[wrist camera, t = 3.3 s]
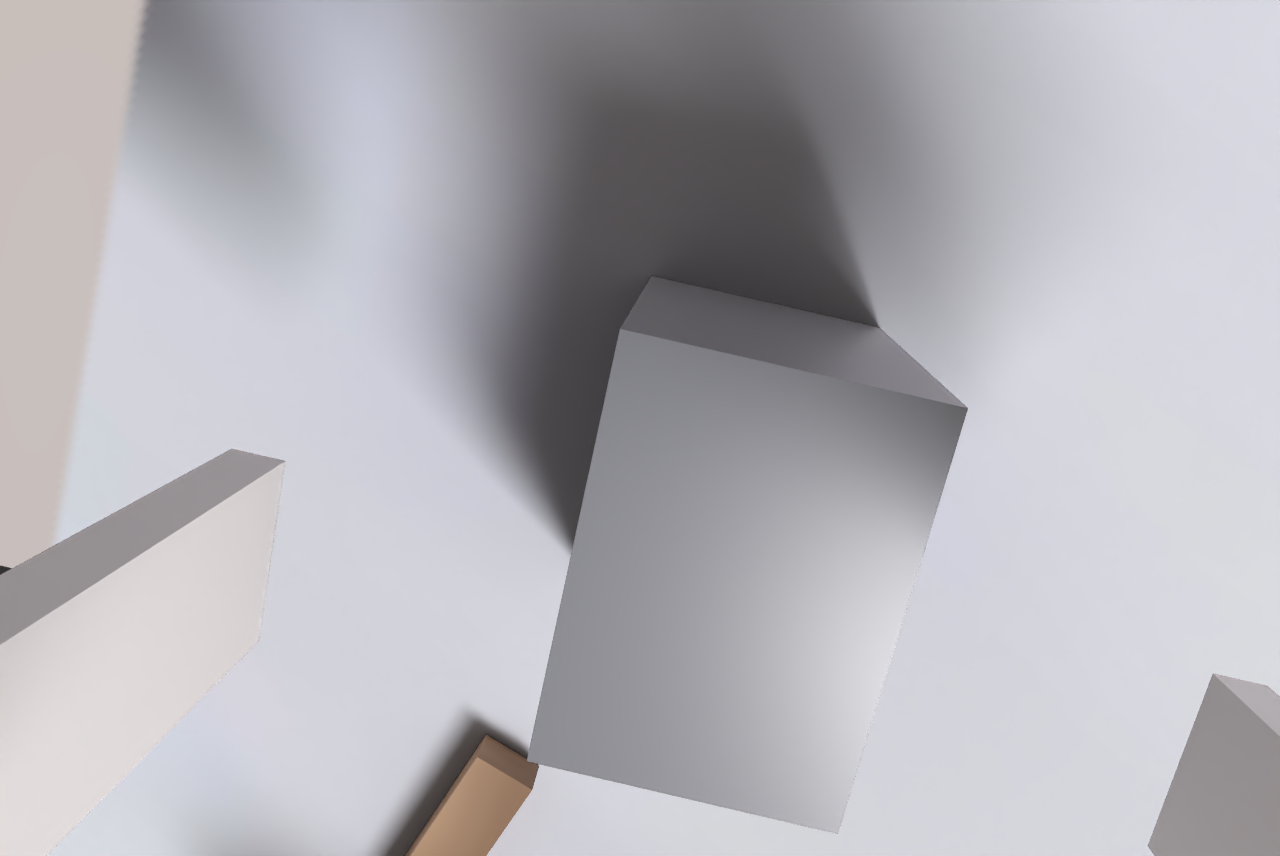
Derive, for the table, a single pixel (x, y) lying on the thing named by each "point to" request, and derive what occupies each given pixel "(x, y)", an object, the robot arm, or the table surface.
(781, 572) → the plug block
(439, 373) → the table surface
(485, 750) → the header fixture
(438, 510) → the table surface
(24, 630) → the robot arm
